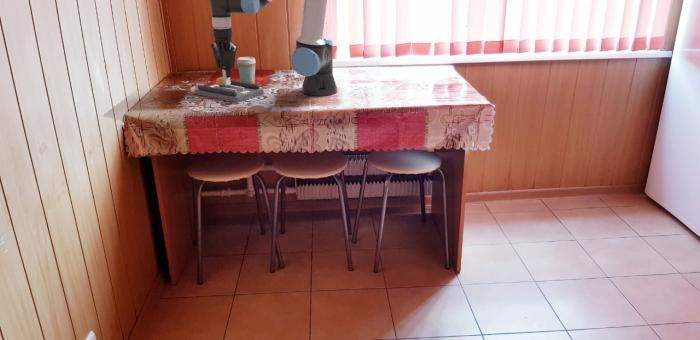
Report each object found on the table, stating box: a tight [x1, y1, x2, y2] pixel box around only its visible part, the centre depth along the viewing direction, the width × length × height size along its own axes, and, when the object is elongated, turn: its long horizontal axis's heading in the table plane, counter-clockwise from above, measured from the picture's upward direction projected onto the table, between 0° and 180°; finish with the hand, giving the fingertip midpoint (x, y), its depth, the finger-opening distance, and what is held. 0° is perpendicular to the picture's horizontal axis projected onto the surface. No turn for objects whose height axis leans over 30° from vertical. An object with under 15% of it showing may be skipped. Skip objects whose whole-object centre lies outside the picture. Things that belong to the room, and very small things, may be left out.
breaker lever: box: [215, 76, 228, 88], centre depth 219 cm, size 3×5×4 cm, turn 148°
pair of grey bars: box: [197, 79, 261, 96], centre depth 218 cm, size 21×16×2 cm
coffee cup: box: [236, 56, 257, 84], centre depth 233 cm, size 8×9×12 cm
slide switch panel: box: [195, 83, 264, 103], centre depth 219 cm, size 24×16×3 cm, turn 59°
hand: (227, 84), depth 218 cm, fingers closed
